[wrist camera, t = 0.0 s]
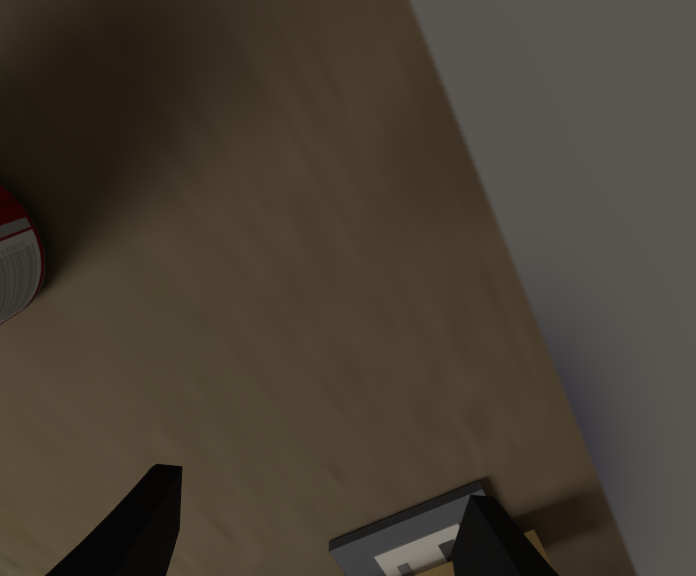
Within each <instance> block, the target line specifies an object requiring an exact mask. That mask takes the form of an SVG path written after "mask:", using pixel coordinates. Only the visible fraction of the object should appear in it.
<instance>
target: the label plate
mask: <svg viewBox="0 0 696 576" xmlns="http://www.w3.org/2000/svg"><path fill="white" fill-rule="evenodd" d="M470 495H481V496H486V494H485V492H484V490H483V488H482V486H481V484H480V482H479V481H477V482H474V483H472V484H469V485H467V486H464V487H462V488H459V489H457V490H455V491H452V492H450V493H447V494H445V495H442V496H440V497H437V498H435V499H433V500H430V501H428V502H425V503H423V504H420V505H418V506H415V507H413V508H411V509H408V510H406V511H403V512H401V513H398V514H396V515H393V516H391V517H389V518H386V519H384V520H381V521H379V522H376V523H374V524H371V525H369V526H366V527H364V528H362V529H359V530H357V531H354V532H352V533H349V534H347V535H344V536H342V537H340V538H337V539H335V540H332V541H330V542H329V552H330V553H331V555H332V556H333V558H334V559H335V560H336V562H337V563H338V564H339V566H340V567H341V568H342V570H343V571H344V573H345V574H346V575H347V576H415V575H417V574H420V573H423V572H425V571H428V570H430V569H433V568H435V567H438V566H441V565H443V564H446V563H448V562H451V561H452V556H451V551H452V548H453V545H454V542H455V539H456V536H457V533H458V530H459V527H460V524H461V521H462V518H463V515H464V512H465V509H466V506H467V503H468V500H469V497H470Z"/></svg>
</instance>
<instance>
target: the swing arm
mask: <svg viewBox="0 0 696 576" xmlns="http://www.w3.org/2000/svg"><path fill="white" fill-rule="evenodd" d="M524 535H525V536H526V537H527V538H528V540H529V541H530V542H531V543H532V544H533V546H534V547H535V548H536V549H537V550H538V552H539V553H540V554H541V555H542V556H543V558H544V559H545V560H546V561H547V562H548V563H549V565H550V566H551V567H552V565H551V563H550V561H549V559H548V557H547V555H546V553H545V551H544V549H543V547H542V545H541V543H540V541H539V538H538V536H537V534H536V532H535V530H534V529H533V530H531V531H528V532H526V533H524ZM552 568H553V567H552ZM415 576H455V575H454V568H453V562H452V561H451V562H448V563H446V564H443V565H441V566H438V567H435V568H433V569H430V570H428V571H425V572H423V573H420V574H417V575H415Z"/></svg>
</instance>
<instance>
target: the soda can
mask: <svg viewBox="0 0 696 576" xmlns="http://www.w3.org/2000/svg"><path fill="white" fill-rule="evenodd" d="M46 268H47V257H46V249H45V244H44V241H43V237H42V234H41V232H40V230H39V227H38V225H37V223H36V221H35V219H34V218H33V216H32V215H31V213H30V211H29V210H28V209H27V207H26V206H25V205H24V204H23V202H22V201H21V200H20V199H19V198H18V197H17V196H16V195H15V194H14V193H13V192H12V191H11V190H10V189H9V188H8V187H6V186H5V185H4V184H3V183H1V182H0V325H1V324H2V323H4V322H5V321H7V320H9V319H10V318H12V317H13V316H15V315H16V314H18V313H19V312H21V311H22V310H24V309H25V308H26V307H27V306H29V305H30V304H31V302H32V301H33V300H34V299H35V298H36V296H37V295H38V293H39V291H40V289H41V287H42V285H43V282H44V279H45V275H46Z"/></svg>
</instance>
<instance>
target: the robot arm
mask: <svg viewBox="0 0 696 576" xmlns="http://www.w3.org/2000/svg"><path fill="white" fill-rule="evenodd" d="M181 486H182V466H173V465H163V464H156V465H154V466H153V467H151V468H150V470H149V471H148V472H147V473H146V474H145V475H144V477H143V478H142V479H141V480H140V481H139V482H138V483H137V485H136V486H135V487H134V488H133V489H132V490H131V491H130V492H129V493H128V495H127V496H126V497H125V498H124V499H123V500H122V501H121V502H120V503H119V504H118V505H117V506H116V507H115V508H114V510H113V511H112V512H111V513H110V514H109V515H108V516H107V517H106V518H105V519H104V520H103V521H102V522H101V523H100V524H99V525H98V526H97V527H96V528H95V529H94V530H93V531H92V532H91V533H90V534H89V535H88V536H87V537H86V538H85V539H84V540H83V541H82V542H81V543H80V544H79V545H78V546H77V547H75V548H74V549H73V550H72V551H71V552H70V553H69V554H68V555H67V556H66V557H65V558H64V559H63V560H61V561H60V562H59V563H58V564H57V565H56V566H55V567H54V568H53V569H52V570H51V571H50V572H49V573H47V574H46V575H45V576H166V574H167V570H168V567H169V564H170V560H171V557H172V554H173V550H174V547H175V544H176V540H177V537H178V533H179V530H180V508H181ZM451 556H452V562H453V568H454V575H455V576H559V575H558V574H557V573H556V572H555V571H554V569H553V568H552V567H551V566H550V565H549V563H548V562H547V561H546V560H545V559H544V558H543V556H542V555H541V554H540V553H539V552H538V550H537V549H536V548H535V547H534V546H533V544H532V543H531V542H530V541H529V540H528V538H527V537H526V536H525V535H524V533H523V532H522V531H521V530H520V529H519V527H518V526H517V525H516V524H515V522H514V521H513V520H512V519H511V518H510V516H509V515H508V514H507V513H506V511H505V510H504V509H503V508H502V507H501V505H500V504H499V503H498V502H497V501H496V499H495V498H494V497H491V496H481V495H470V497H469V500H468V503H467V506H466V509H465V512H464V515H463V518H462V521H461V524H460V527H459V530H458V533H457V536H456V539H455V542H454V545H453V548H452V551H451Z"/></svg>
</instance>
